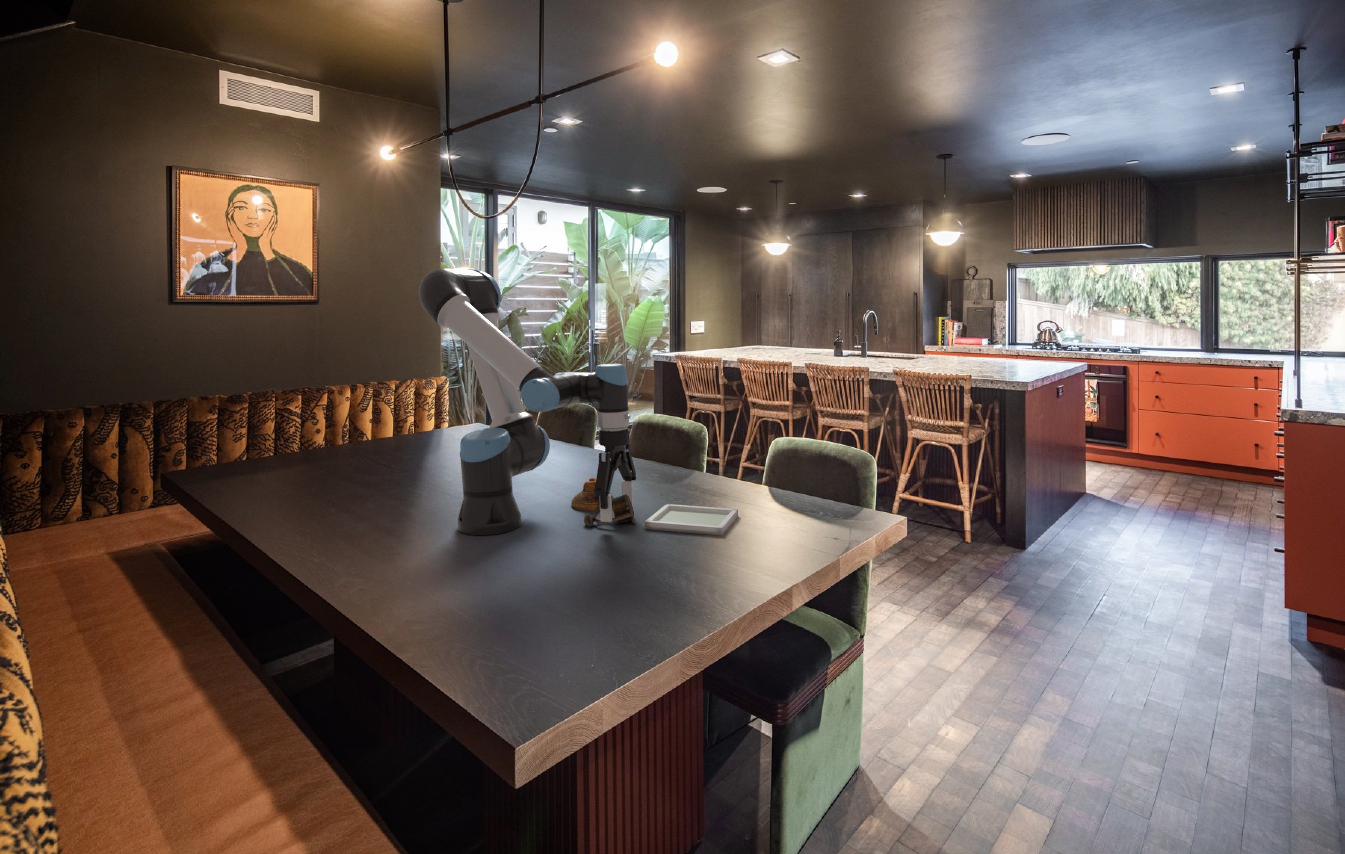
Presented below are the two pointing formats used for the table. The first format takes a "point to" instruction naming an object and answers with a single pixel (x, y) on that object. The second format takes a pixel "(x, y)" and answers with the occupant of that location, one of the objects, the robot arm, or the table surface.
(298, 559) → the table surface
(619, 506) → the brown piece
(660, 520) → the tray
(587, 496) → the bell
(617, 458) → the robot arm
